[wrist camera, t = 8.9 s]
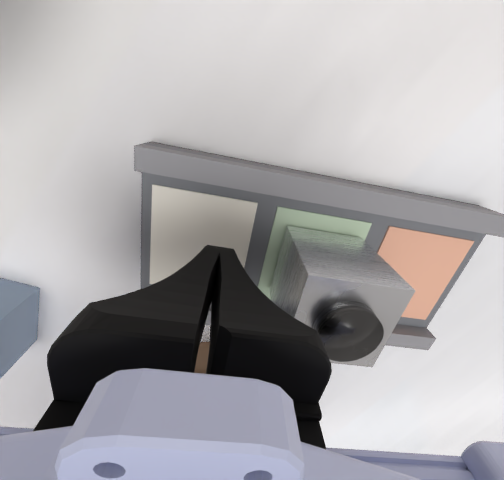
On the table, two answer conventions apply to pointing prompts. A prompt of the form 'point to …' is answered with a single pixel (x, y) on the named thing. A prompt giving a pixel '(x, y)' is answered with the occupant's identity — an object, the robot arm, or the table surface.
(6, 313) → the slate-blue block
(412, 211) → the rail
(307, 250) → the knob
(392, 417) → the table surface
